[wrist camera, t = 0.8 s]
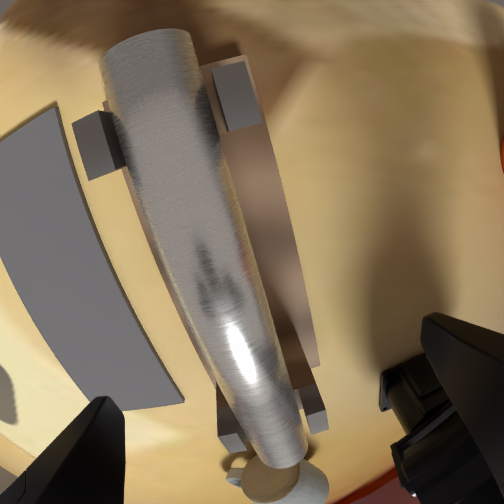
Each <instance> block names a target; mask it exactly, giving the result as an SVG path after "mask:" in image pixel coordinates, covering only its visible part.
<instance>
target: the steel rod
mask: <svg viewBox="0 0 504 504" xmlns="http://www.w3.org/2000/svg"><path fill="white" fill-rule="evenodd" d="M99 67H100V71H101V76H102V80H103V84H104V88H105V92H106V96H107V100H108V103H109V107H110V111H111V115H112V118H113V122H114V125H115V129H116V132H117V136H118V139H119V142H120V146H121V149H122V152H123V155H124V159H125V162H126V165H127V168H128V171H129V174H130V177H131V180H132V183H133V186H134V189H135V192H136V195H137V198H138V201H139V203H140V206H141V209H142V212H143V215H144V217H145V220H146V223H147V225H148V228H149V231H150V233H151V236H152V239H153V241H154V244H155V246H156V249H157V251H158V254H159V256H160V259H161V261H162V264H163V266H164V269H165V271H166V274H167V276H168V278H169V281H170V283H171V285H172V288H173V290H174V292H175V295H176V297H177V299H178V302H179V304H180V306H181V308H182V311H183V313H184V315H185V317H186V319H187V322H188V324H189V326H190V328H191V330H192V332H193V335H194V337H195V339H196V341H197V343H198V345H199V347H200V349H201V351H202V353H203V355H204V357H205V359H206V361H207V363H208V365H209V367H210V369H211V371H212V373H213V375H214V377H215V379H216V381H217V383H218V385H219V387H220V389H221V391H222V393H223V395H224V396H225V398H226V400H227V402H228V404H229V406H230V408H231V409H232V411H233V413H234V415H235V417H236V418H237V420H238V422H239V424H240V426H241V427H242V429H243V431H244V433H245V434H246V436H247V438H248V439H249V441H250V443H251V445H252V446H253V448H254V450H255V451H256V453H257V455H258V456H259V458H260V459H261V461H262V462H263V463H264V464H265V465H267V466H269V467H271V468H276V469H284V468H288V467H291V466H294V465H296V464H297V463H299V462H300V461H301V460H302V459H303V458H304V456H305V455H306V453H307V450H308V441H307V438H306V434H305V431H304V427H303V424H302V420H301V417H300V413H299V410H298V406H297V403H296V399H295V396H294V392H293V389H292V385H291V382H290V378H289V375H288V371H287V368H286V365H285V361H284V358H283V354H282V351H281V347H280V344H279V340H278V337H277V333H276V330H275V326H274V323H273V319H272V316H271V312H270V309H269V305H268V302H267V298H266V295H265V291H264V288H263V285H262V281H261V278H260V274H259V271H258V267H257V264H256V260H255V257H254V253H253V250H252V246H251V243H250V239H249V236H248V233H247V229H246V226H245V222H244V219H243V215H242V212H241V208H240V205H239V201H238V198H237V194H236V191H235V187H234V184H233V181H232V177H231V174H230V170H229V167H228V163H227V160H226V156H225V153H224V149H223V146H222V143H221V139H220V136H219V132H218V129H217V125H216V122H215V118H214V115H213V111H212V108H211V105H210V101H209V98H208V94H207V91H206V87H205V84H204V80H203V77H202V74H201V70H200V67H199V63H198V60H197V56H196V53H195V49H194V46H193V43H192V39H191V36H190V33H189V32H187V31H185V30H182V29H174V28H169V29H159V30H153V31H149V32H145V33H141V34H138V35H136V36H133V37H130V38H128V39H126V40H124V41H122V42H120V43H118V44H116V45H115V46H113V47H112V48H110V49H109V50H108V51H107V52H106V53H105V54H104V55H103V56H102V57H101V58H100V60H99Z"/></svg>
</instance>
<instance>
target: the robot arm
mask: <svg viewBox="0 0 504 504" xmlns="http://www.w3.org/2000/svg"><path fill="white" fill-rule="evenodd" d="M420 342H421V345H422V348H423V350H424V351H425V353H424V354H422V355H420V356H418V357H416V358H414V359H411V360H409V361H407V362H405V363H403V364H400V365H398V366H396V367H394V368H391V369H389V370H387V371H385V372H383V373H382V375H381V392H380V410H381V412H384V411H387V410H389V409H391V408H392V410H393V411H394V413H395V415H396V417H397V419H398V420H399V422H400V424H401V426H402V428H403V429H404V431H405V433H406V436H405V437H403V438H402V439H400V440H399V441H398V442H395V443H393V444H392V445H390V447H391V450H392V456H393V460H394V463H395V466H396V470H397V473H398V477H399V480H400V486H401V488H402V489H406V490H407V491H408V492H409V493H410V494H411V495H412V496H414V497H418V499H419V501H420V503H421V504H504V334H501V333H498V332H495V331H492V330H489V329H486V328H483V327H480V326H477V325H474V324H471V323H468V322H465V321H462V320H460V319H457V318H454V317H451V316H448V315H445V314H442V313H439V312H433V313H431V314H428V315H426V316H424V318H423V320H422V328H421V336H420ZM125 463H126V461H125V418H124V415H123V413H122V411H121V410H120V409H119V408H118V406H117V405H116V404H115V402H114V401H113V400H112V398H111V397H109V396H97V397H95V398H94V399H93V400H92V401H91V402H90V403H89V404H88V405H87V406H86V407H85V408H84V409H83V411H82V412H81V413H80V414H79V415H78V416H77V417H76V418H75V419H74V420H73V421H72V422H71V423H70V424H69V425H68V426H67V427H66V428H65V429H64V430H63V431H62V432H61V433H60V434H59V435H58V436H57V437H56V438H55V440H54V441H53V442H52V443H51V444H50V445H49V446H48V447H47V448H46V449H45V450H44V451H43V452H42V453H41V454H40V455H39V456H38V457H37V458H36V459H35V460H34V461H33V462H32V464H31V465H30V466H29V467H28V468H27V469H26V471H24V472H23V473H22V474H21V475H20V476H19V477H18V478H17V479H16V480H15V481H14V482H13V483H12V484H11V485H10V486H9V487H8V488H7V489H6V490H5V491H4V492H3V493H2V494H1V495H0V504H124V482H125Z"/></svg>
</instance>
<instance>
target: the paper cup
mask: <svg viewBox="0 0 504 504" xmlns="http://www.w3.org/2000/svg"><path fill="white" fill-rule="evenodd" d="M501 164H502V169H503V172H504V137H503V141H502V146H501Z"/></svg>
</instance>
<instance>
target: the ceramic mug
mask: <svg viewBox="0 0 504 504" xmlns="http://www.w3.org/2000/svg"><path fill="white" fill-rule="evenodd" d="M226 480H227V481H228V482H229V483H231V484H233V485H235V486H237V487H239V488H242V489H243V492H244V493H245V495H246V496H247V497H248V498H249V499H250V500H251V501H253V502H254V503H256V504H324V503H325V501H326V499H327V497H328V493H329V483H328V479H327V477H326V475H325V474H324V473H323V471H321V470H320V469H319V468H317V467H315V466H314V465H312V464H311V463H310V462H308V461H307V460H305V459H304V458H303V459H302V460H301V461H300V462H299V463H297V464H296V465H294V466H291V467H288V468H284V469H276V468H271V467H269V466H267V465H265V464H264V463H263V462H262V461H261V459H260V458H259V456H258V455H255V456H254V457H253V458H252V459H250V461H249V462H248V463H247V464H246V466H245V467H244V468H231V469H229V471H228V474H227V476H226Z"/></svg>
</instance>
